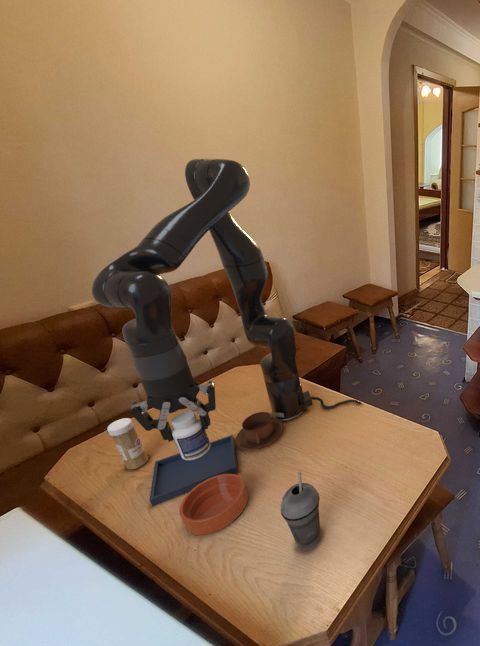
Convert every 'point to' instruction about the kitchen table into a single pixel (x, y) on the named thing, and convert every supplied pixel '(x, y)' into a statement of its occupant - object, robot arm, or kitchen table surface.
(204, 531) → the bowl
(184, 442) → the pill bottle
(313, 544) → the beverage cup
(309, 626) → the kitchen table surface
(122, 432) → the sprinkles bottle
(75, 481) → the kitchen table surface
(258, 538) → the kitchen table surface
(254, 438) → the cup and saucer
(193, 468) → the tray
